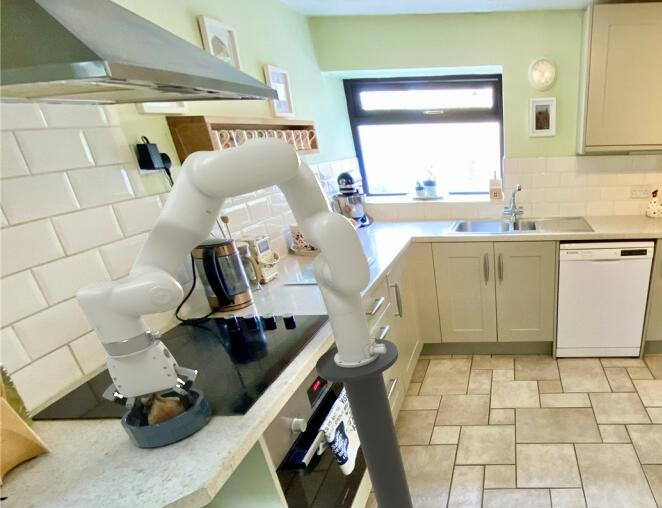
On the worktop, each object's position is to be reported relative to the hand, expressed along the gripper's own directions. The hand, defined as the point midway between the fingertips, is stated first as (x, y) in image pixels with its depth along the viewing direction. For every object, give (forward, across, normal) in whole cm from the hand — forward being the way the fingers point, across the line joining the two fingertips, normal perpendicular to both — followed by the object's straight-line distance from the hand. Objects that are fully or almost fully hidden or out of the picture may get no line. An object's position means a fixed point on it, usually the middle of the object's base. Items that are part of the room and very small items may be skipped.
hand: (167, 412), depth 92 cm
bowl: (+4, 0, 0) cm, 4 cm away
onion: (+3, 0, 0) cm, 3 cm away
